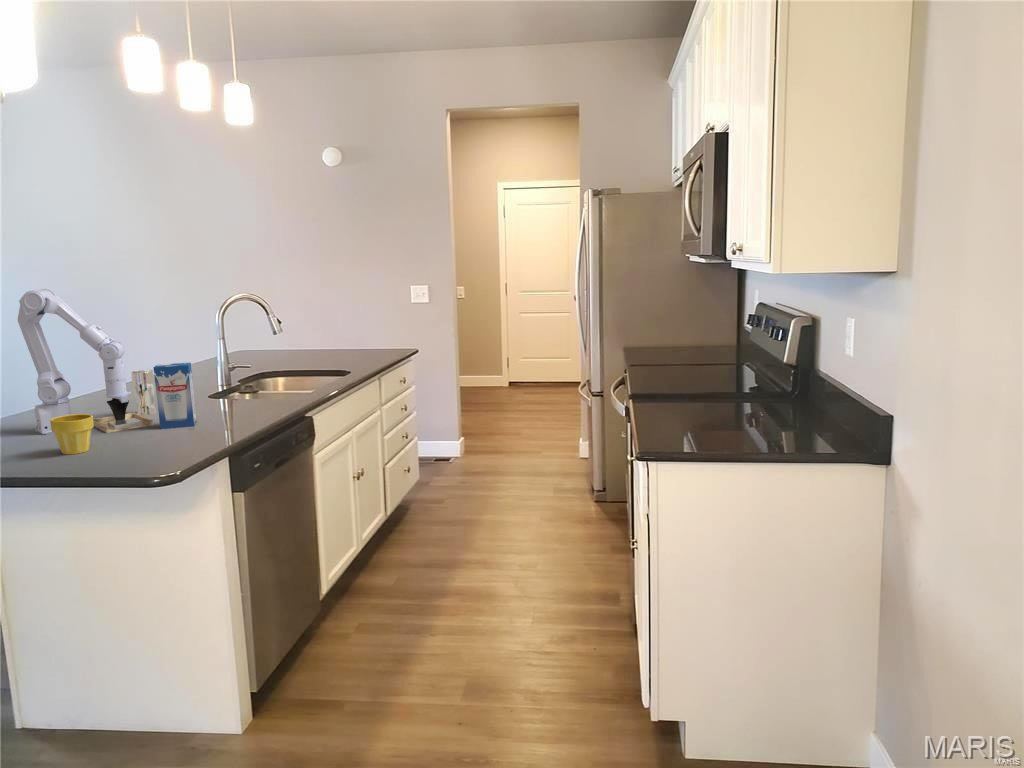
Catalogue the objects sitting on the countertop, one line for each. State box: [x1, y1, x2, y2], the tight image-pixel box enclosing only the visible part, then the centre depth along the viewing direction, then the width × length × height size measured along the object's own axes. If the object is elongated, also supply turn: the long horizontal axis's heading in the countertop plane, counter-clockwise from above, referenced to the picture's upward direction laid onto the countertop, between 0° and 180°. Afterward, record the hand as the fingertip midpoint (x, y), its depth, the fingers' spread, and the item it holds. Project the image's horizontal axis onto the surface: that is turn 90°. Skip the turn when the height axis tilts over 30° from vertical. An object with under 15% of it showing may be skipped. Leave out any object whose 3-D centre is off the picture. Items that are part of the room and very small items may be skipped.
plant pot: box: [50, 413, 95, 455], centre depth 210 cm, size 10×10×10 cm
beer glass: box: [130, 369, 157, 416], centre depth 257 cm, size 7×7×15 cm
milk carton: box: [153, 362, 198, 430], centre depth 235 cm, size 10×6×20 cm, turn 105°
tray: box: [93, 412, 154, 434], centre depth 240 cm, size 14×17×2 cm
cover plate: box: [107, 418, 142, 430], centre depth 238 cm, size 8×7×2 cm
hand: (120, 421), depth 241 cm, fingers closed
